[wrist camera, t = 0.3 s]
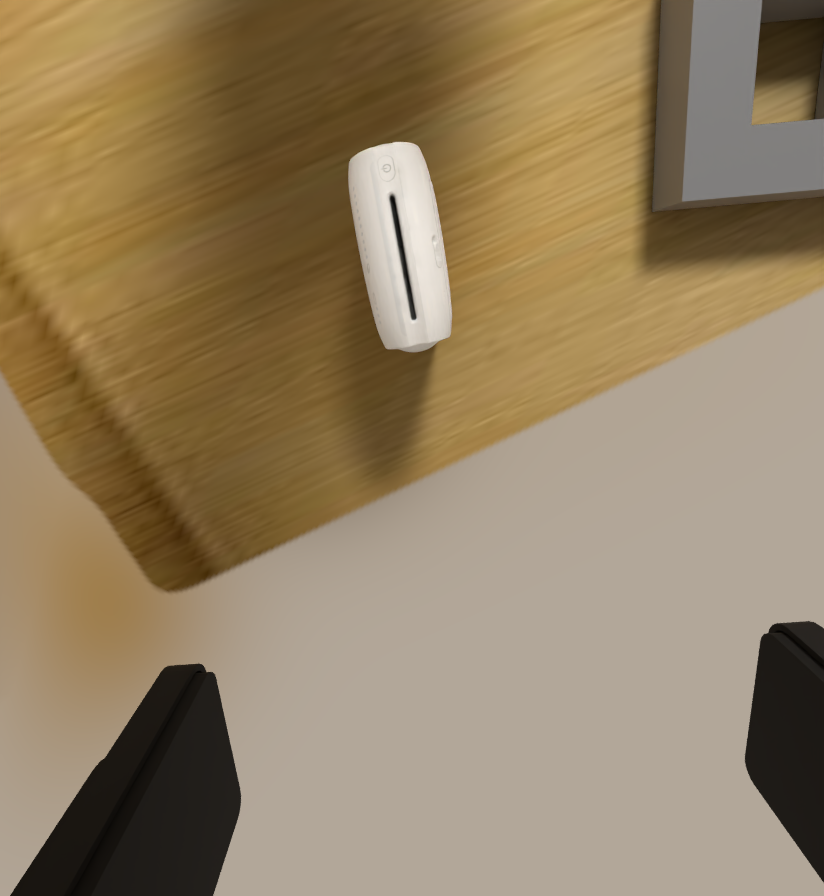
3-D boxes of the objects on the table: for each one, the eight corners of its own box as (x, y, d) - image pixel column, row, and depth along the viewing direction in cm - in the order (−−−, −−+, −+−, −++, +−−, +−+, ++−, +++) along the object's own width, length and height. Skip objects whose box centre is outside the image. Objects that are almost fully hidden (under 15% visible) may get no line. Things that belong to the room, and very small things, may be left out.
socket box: (662, -42, 31) (698, -89, 27) (898, -64, 31) (968, -115, 27) (652, 211, 35) (682, 201, 31) (861, 193, 35) (917, 180, 31)
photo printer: (357, 190, 35) (330, 136, 23) (420, 177, 34) (427, 115, 23) (387, 345, 38) (378, 368, 26) (446, 334, 37) (464, 351, 25)
